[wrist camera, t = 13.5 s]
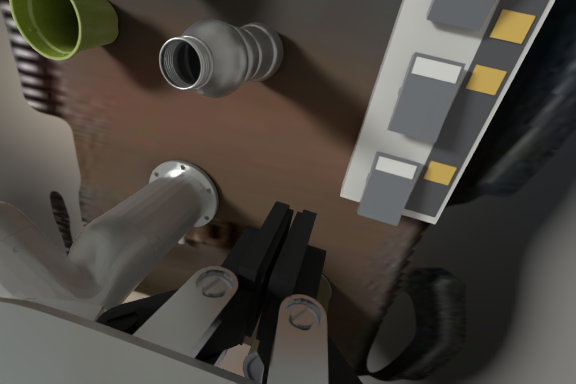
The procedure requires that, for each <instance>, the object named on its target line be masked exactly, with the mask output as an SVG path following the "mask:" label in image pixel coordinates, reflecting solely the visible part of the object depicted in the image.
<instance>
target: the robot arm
mask: <svg viewBox="0 0 576 384" xmlns="http://www.w3.org/2000/svg"><path fill="white" fill-rule="evenodd" d="M218 205H219V198H218V193H217V190H216V187H215V185H214V183H213V182H212V180H211V179H210V178H209V176H208V175H207V174H206V173H205V172H204V171H203V170H201V169H200V168H199V167H197V166H195V165H194V164H192V163H189V162H186V161H182V160H170V161H166V162H164V163H162V164H161V165H159V166H158V167H156V168H155V170H154V171H153V172H152V174H151V177H150V181H149V184H148V185H147V186H145V187H144V188H142V189H141V190H139V191H138V192H136V193H135V194H133V195H132V196H130V197H129V198H127V199H126V200H124V201H123V202H121V203H120V204H118V205H117V206H115V207H114V208H112V209H111V210H109V211H108V212H106V213H105V214H103V215H102V216H100V217H98V218H97V219H95V220H94V221H92V222H91V223H89V224H88V225H87V226H85V227H84V228H83V229H82V231H81V232H80V233H79V234H78V236H77V237H76V239H75V241H74V242H73V245H72V247H71V249H70V252H69V255H68V257H67V256H65V255H64V254H63V253H62V252H61V251H60V250H59V249H58V248H57V247H56V246H55V245H54V244H53V243H52V242H51V241H50V240H49V239H48V238H47V237H46V235H45V234H43V232H42V231H41V230H40V229H39V228H38V227H37V226H36V225H35V224H34V223H33V222H32V221H31V220H30V219H29V218H28V217H26V216H25V215H24V214H23V213H22V212H21V211H20V210H19V209H17V208H16V207H14V206H12V205H10V204H8V203H5V202H1V201H0V384H363V383H362V382H361V381H360V379H359V378H358V376H357V375H356V374H355V372H354V371H353V370H352V368H351V367H350V365H349V364H348V363H347V361H346V360H345V358H344V357H343V356H342V354H341V353H340V351H339V350H338V349H337V347H336V346H335V344H334V343H333V342H332V340H331V339H330V337H329V336H328V335H327V317H326V312H325V310H324V308H323V307H322V305H321V304H320V303H319V302H318V301H316V299H317V294H318V290H319V285H320V280H321V275H322V270H323V266H324V261H325V256H326V251H325V250H322V249H319V248H316V247H313V246H309V245H308V242H309V238H310V235H311V232H312V228H313V225H314V221H315V218H316V215H317V213H313V212H310V211H307V210H303V213H301V212H297V214H296V216H295V219H294V221H293V223H292V226H291V228H290V224H291V220H292V216H293V211H294V210H291V209H289V207H290V205H287V204H284V203H281V202H277V201H276V203H275V204H274V206H273V208H272V210H271V211H270V213H269V215H268V217H267V218H266V220H265V222H264V224H263V225H262V227H261V229H260V230H259V229H256V228H253V227H249V226H248V227H246V229H245V230H244V232H243V233H242V235H241V236H240V238H239V239H238V241H237V242H236V244H235V245H234V247H233V249H232V250H231V252H230V253H229V255H228V256H227V258H226V259H225V261H224V262H223V264H222V265H221V267H217V266H212V267H206V268H204V269H201V270H199V271H198V272H197V273H195V274H194V275H193V276H192V277H191V278H190V279H189V280H188V281H187V282H186V283H185V284H184V285H183V286H182V287H181V288H180V289H177V290H173V291H169V292H166V293H162V294H158V295H154V296H151V297H147V298H143V299H139V300H136V301H132V302H128V303H125V304H122V303H123V302H124V301H125V300H126V298H127V297H128V296H129V295H130V294H131V292H132V291H133V290H134V289H135V288H136V287H137V286H138V284H139V283H140V282H141V281H142V280H143V279H144V278H145V277H146V276H147V275H148V274H149V273H150V271H151V270H152V269H153V268H154V267H155V266H156V265H157V264H158V263H159V262H160V261H161V260H162V259H163V258H164V256H165V255H166V254H167V253H168V252H169V251H170V250H171V249H172V248H173V247H174V246H175V245H176V244H177V243H180V244H184V243H186V234H187V233H188V232H189V231H190V230H191V229H192V228H196V227H201V226H204V225H206V224H207V223H209V222H210V221H211V220H212V219H213V217H214V216H215V214H216V213H217V210H218ZM289 228H290V231H289ZM288 232H289V233H288ZM261 312H262V314H261ZM260 314H261V318H260V322H259V326H258V331H257V335H256V340H259V345H258V349H257V353H258V355H259V357H260V359H261V361H262V363H263V365H264V367H263V371H262V376H261V382H260V383H258V382H256V381H253V380H250V379H248V378H245V377H242V376H240V375H237V374H235V373H232V372H229V371H227V370H224V369H221V368H219V367H218V366H219V365H220V363H221V362H222V360H223V359H224V357H225V355H226V353H227V349H229V348H232V347H234V346H237V345H238V344H240V345H242V344H243V341H244V339H245V336H248V337H252V334H253V332H254V329H255V327H256V324H257V322H258V319H259V317H260Z"/></svg>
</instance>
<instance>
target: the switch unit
mask: <svg viewBox="0 0 576 384" xmlns="http://www.w3.org/2000/svg"><path fill="white" fill-rule="evenodd" d="M431 2H432V0H402V3H401V6H400V9H399V12H398V15H397V18H396V21H395V25H394V28H393V31H392V34H391V37H390V40H389V43H388V46H387V49H386V52H385V55H384V58H383V61H382V64H381V67H380V70H379V73H378V77H377V80H376V83H375V86H374V89H373V92H372V95H371V98H370V101H369V104H368V107H367V110H366V113H365V116H364V119H363V122H362V125H361V129H360V132H359V135H358V138H357V141H356V144H355V147H354V150H353V153H352V156H351V159H350V162H349V165H348V168H347V171H346V174H345V178H344V181H343V184H342V188H341V193H340V197H344V198H347V199H351V200H354V201H357V202H360V200H361V197H362V194H363V191H364V188H365V185H366V182H367V179H368V176H369V173H370V170H371V167H372V164H373V161H374V158H375V155H376V152H377V151H379V152H383V153H386V154H390V155H394V156H397V157H401V158H404V159H408V160H412V161H415V162H418V163H420V167H419V169H418V172H417V175H416V177H415V180H414V183H413V185H412V188H411V191H410V193H409V196H408V199H407V201H406V204H405V207H404V209H403V212H402V215H405V216H408V217H412V218H415V219H418V220H422V221H425V222H429V223H432V224H436V222H437V220H438V218H439V217H440V215H441V213H442V211H443V209H444V207H445V206H446V204H447V202H448V200H449V198H450V196H451V194H452V192H453V191H454V189H455V187H456V185H457V183H458V181H459V179H460V177H461V176H462V174H463V172H464V170H465V168H466V166H467V164H468V163H469V161H470V159H471V157H472V155H473V153H474V151H475V149H476V148H477V146H478V144H479V142H480V140H481V138H482V136H483V135H484V133H485V131H486V129H487V127H488V125H489V123H490V121H491V120H492V118H493V116H494V114H495V112H496V110H497V108H498V106H499V105H500V103H501V101H502V99H503V97H504V95H505V93H506V92H507V90H508V88H509V86H510V84H511V82H512V80H513V78H514V77H515V75H516V73H517V71H518V69H519V67H520V65H521V63H522V62H523V60H524V58H525V56H526V54H527V52H528V50H529V49H530V47H531V45H532V43H533V41H534V39H535V37H536V35H537V34H538V32H539V30H540V28H541V26H542V24H543V22H544V20H545V19H546V17H547V15H548V13H549V11H550V9H551V7H552V6H553V4H554V2H555V0H496V1H495V3H494V5H493V7H492V9H491V11H490V12H489V14H488V16H487V18H486V20H485V21H484V23H483V25H482V27H481V29H480V30H479V31H475V30H471V29H466V28H462V27H457V26H453V25H448V24H443V23H439V22H434V21H430V20H426V18H427V12H428V9H429V7H430V4H431ZM415 52H418V53H422V54H426V55H430V56H435V57H439V58H443V59H448V60H452V61H456V62H460V63H465V64H466V65H465V67H464V70H463V73H462V75H461V78H460V80H459V83H458V86H457V88H456V91H455V94H454V96H453V99H452V101H451V104H450V107H449V109H448V112H447V114H446V117H445V120H444V122H443V125H442V128H441V130H440V133H439V135H438V138H437V141H436V143H434V142H430V141H426V140H423V139H419V138H415V137H411V136H408V135H404V134H400V133H396V132H392V131H389V130H387V128H388V125H389V122H390V119H391V116H392V113H393V110H394V107H395V104H396V101H397V98H398V95H399V92H400V89H401V86H402V83H403V80H404V78H405V75H406V72H407V69H408V66H409V63H410V60H411V57H412V55H413V54H414V53H415Z"/></svg>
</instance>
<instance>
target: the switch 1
mask: <svg viewBox="0 0 576 384" xmlns="http://www.w3.org/2000/svg"><path fill="white" fill-rule="evenodd" d="M419 167H420V163H418V162H415V161H412V160H408V159H404V158H401V157H397V156H394V155H390V154H386V153H383V152H379V151H377V152H376V155H375V158H374V161H373V164H372V167H371V170H370V173H369V176H368V179H367V182H366V185H365V188H364V191H363V194H362V197H361V200H360V203H359V206H358V209H357V214H358V215H361V216H365V217H368V218H371V219H375V220H378V221H382V222H385V223H388V224H392V225H395V226H398V223H399V220H400V217H401V215H402V212H403V209H404V207H405V204H406V201H407V199H408V196H409V193H410V191H411V188H412V185H413V183H414V180H415V177H416V175H417V172H418V169H419Z"/></svg>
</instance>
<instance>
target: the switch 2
mask: <svg viewBox="0 0 576 384" xmlns="http://www.w3.org/2000/svg"><path fill="white" fill-rule="evenodd" d="M495 1H496V0H432V2H431V4H430V7H429V9H428V12H427V18H426V20H430V21H434V22H439V23H443V24H448V25H453V26H457V27H462V28H466V29H471V30H475V31H479V30H480V29H481V27H482V25H483V23H484V21H485V20H486V18H487V16H488V14H489V12H490V11H491V9H492V7H493V5H494V3H495Z"/></svg>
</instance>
